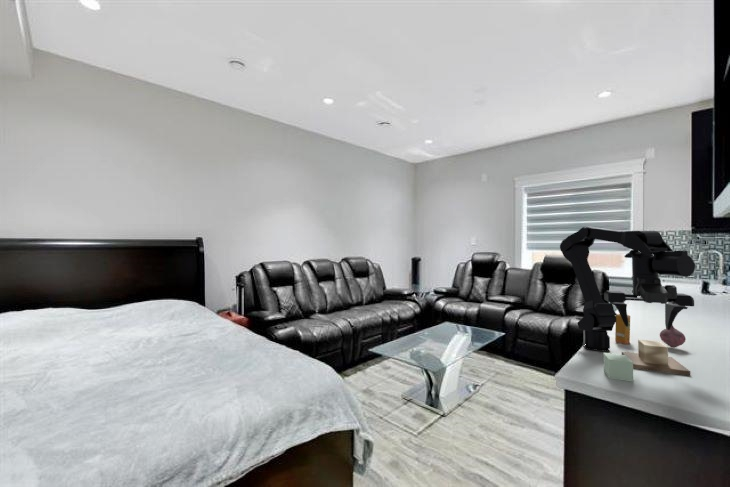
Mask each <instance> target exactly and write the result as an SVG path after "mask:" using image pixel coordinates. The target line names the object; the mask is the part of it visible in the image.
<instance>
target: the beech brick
mask: <svg viewBox="0 0 730 487" xmlns="http://www.w3.org/2000/svg"><path fill="white" fill-rule="evenodd" d="M637 343H638V346H637V348H638V352H637V353H638V355H639V357H640V358H641V359H642V360H643V361H644V362H645V363H653V364H662V365H668V357H669V348H668V347H669V346H668V345H667V346H666V344H665V343H664V344H663V342H661V341H658V340H656V341H655V340H647V339H646V340H645V339H637Z"/></svg>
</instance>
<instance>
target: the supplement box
mask: <svg viewBox="0 0 730 487" xmlns="http://www.w3.org/2000/svg"><path fill="white" fill-rule="evenodd" d="M616 314H617V313H616ZM615 316H616V322H615V330H614V331H615V332H614V334H615V335H614V336H615V338H614V339H615V340H614V342H616V343H619V344H623V345H627V344H630V343H631V342H630V341H631V339H630V338H631V315H628V314H627V317H628V327H626V326H625V324H624V322H623V320H622V318H621V315H620V313H618V314H617V315H615Z"/></svg>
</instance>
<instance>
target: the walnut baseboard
mask: <svg viewBox="0 0 730 487" xmlns="http://www.w3.org/2000/svg"><path fill="white" fill-rule="evenodd" d="M621 355H626V356H627V357H628V358H629V359H630V360H631V361H632V362H633V369H636V370H644V371H650V372H651V371H652V372H657V373H658V372H660V373H667V374H676V375H682V376H683V375H684V376H688V377H689V376H691V370H689V368H687V367H685V366H684V365H683V364H681V363H680V362H679V361H677V359H676V358H673V357H672V356H668V365H662V364H653V363H645V362H644V361H643V360H642V359H641V358H640V357H639V355H638V352H637V353H636V352H629V351H621Z"/></svg>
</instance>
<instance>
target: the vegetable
mask: <svg viewBox="0 0 730 487" xmlns="http://www.w3.org/2000/svg"><path fill="white" fill-rule="evenodd" d="M659 338H660V340H661V341H662V343H664V345H667V347H669V348H671V349H675V348H678V347H680V346H682V345H684V344H685V343H686V340H687V339H686V336H685V334H684V333H683V332H681V331H680V330H678V329H677V328H675V327H674V325H673V324H672V326H671V328H670V330H667V329H666V328H664V329H662V330H661V331H660V332H659Z"/></svg>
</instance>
